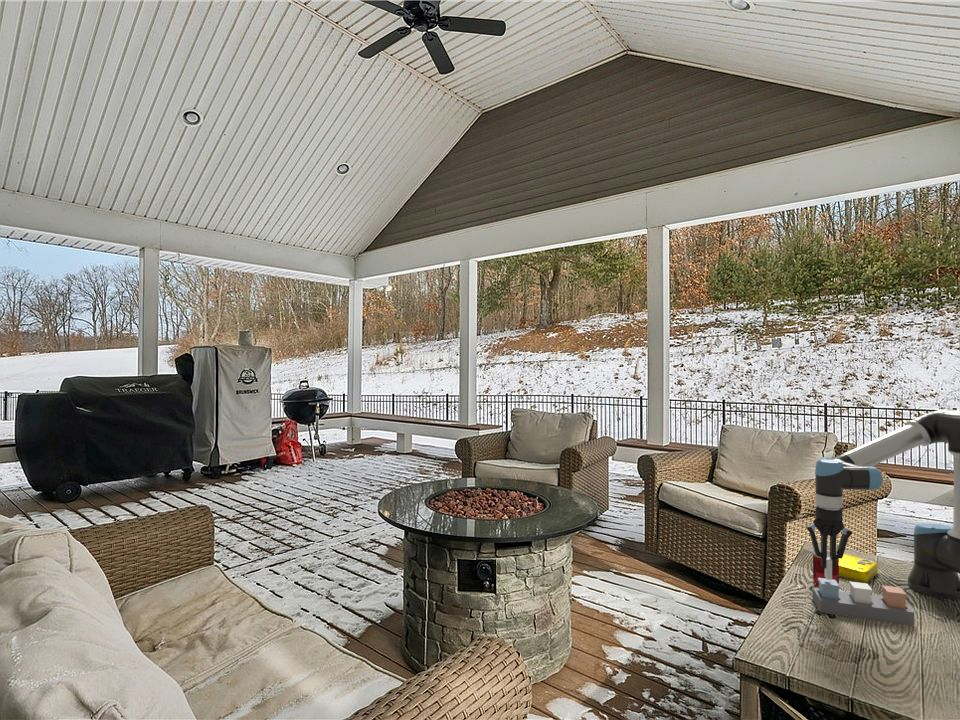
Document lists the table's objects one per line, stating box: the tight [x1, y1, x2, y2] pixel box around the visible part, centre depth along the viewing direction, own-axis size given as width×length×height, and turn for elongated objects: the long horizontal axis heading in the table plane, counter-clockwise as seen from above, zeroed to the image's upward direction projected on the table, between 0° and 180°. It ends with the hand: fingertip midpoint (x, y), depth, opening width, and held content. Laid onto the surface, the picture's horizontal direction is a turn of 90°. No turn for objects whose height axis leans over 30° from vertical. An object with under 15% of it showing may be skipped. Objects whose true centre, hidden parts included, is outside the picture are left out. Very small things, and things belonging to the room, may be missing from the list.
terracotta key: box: [881, 584, 908, 609], centre depth 169 cm, size 5×5×5 cm
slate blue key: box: [818, 578, 841, 600], centre depth 175 cm, size 5×5×5 cm
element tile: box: [836, 551, 879, 583], centre depth 204 cm, size 15×15×5 cm
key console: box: [812, 587, 915, 626], centre depth 172 cm, size 25×10×4 cm, turn 70°
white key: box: [848, 580, 874, 604], centre depth 172 cm, size 5×5×5 cm
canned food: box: [812, 550, 840, 587], centre depth 193 cm, size 8×8×11 cm
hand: (828, 577), depth 175 cm, fingers closed
